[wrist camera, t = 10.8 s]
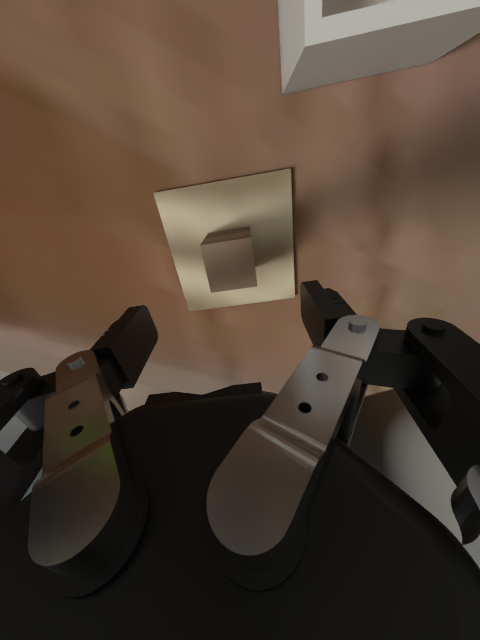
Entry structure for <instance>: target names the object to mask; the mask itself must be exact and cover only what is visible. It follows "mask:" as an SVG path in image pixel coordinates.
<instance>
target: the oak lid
mask: <svg viewBox="0 0 480 640" xmlns="http://www.w3.org/2000/svg"><path fill="white" fill-rule="evenodd" d="M154 197H155V200H156V203H157V206H158V210H159V213H160V216H161V220H162V223H163V226H164V230H165V233H166V236H167V239H168V243H169V246H170V249H171V253H172V256H173V259H174V263H175V266H176V269H177V272H178V276H179V279H180V282H181V286H182V289H183V292H184V296H185V299H186V302H187V305H188V309H189V311H196V310H204V309H211V308H219V307H226V306H234V305H241V304H249V303H256V302H264V301H271V300H279V299H286V298H294V297H295V285H294V253H293V221H292V189H291V168H290V169H284V170H279V171H273V172H268V173H262V174H256V175H251V176H245V177H240V178H234V179H228V180H223V181H217V182H212V183H206V184H201V185H195V186H189V187H184V188H178V189H173V190H167V191H161V192H156V193H154Z"/></svg>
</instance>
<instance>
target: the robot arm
mask: <svg viewBox="0 0 480 640" xmlns="http://www.w3.org/2000/svg"><path fill="white" fill-rule="evenodd" d="M300 293H301V316H302V321H303V323H304V326H305V328H306V330H307V332H308V335H309V337H310V339H311V341H312V344H313V346H312V347H311V348H310V349H309V351H308V352H307V353H306V355H305V356H304V358H303V359H302V361H301V362H300V363H299V365H298V366H297V368H296V369H295V371H294V372H293V373H292V375H291V376H290V378H289V379H288V381H287V382H286V384H285V385H284V386H283V388H282V389H281V391H280V392H279V394H275V393H271V392H266V391H262V386H261V382H258V383H249V384H240V385H232V386H229V387H226V388H223V389H220V390H216V391H213V392H210V393H207V394H203V395H199V394H190V393H181V392H170V393H161V394H152V395H149V396H148V398H147V401H146V403H145V405H142V406H140V407H137V408H135V409H133V410H131V411H129V412H128V410H127V408H126V405H125V402H124V400H123V397H122V396H121V394H120V390H121V389H127V388H133V387H134V386H135V384H136V382H137V380H138V378H139V376H140V374H141V372H142V370H143V368H144V366H145V364H146V362H147V360H148V358H149V356H150V354H151V352H152V350H153V348H154V346H155V344H156V342H157V340H158V333H157V329H156V327H155V325H154V322H153V320H152V317H151V315H150V313H149V310H148V308H147V307H146V306H145V305H142V306H135V307H129V308H128V309H127V310H126V311H125V313H124V314H123V315H122V316H121V317H120V318H119V319H118V320H117V321H116V322H114V323H113V324H112V325H111V326H110V327H109V328H108V329H107V331H106V332H105V333H104V334H103V336H101V337H100V339H99V340H98V341H97V342H96V343H95V344H94V345H93V347H92V348H91V349H90V350H85V351H80V352H77V353H75V354H73V355H71V356H69V357H67V358H66V359H64V360H63V361H62V362H61V363H60V364H59V365H58V366H57V367H56V372H53V373H50V374H47V375H43V376H40V375H39V374H38V373H37V371H36V370H35V369H34V368H25V369H21V370H18V371H16V372H14V373H12V374H10V375H8V376H6V377H4V378H3V379H1V380H0V431H1V429H2V428H3V427H4V426H5V425H6V424H7V423H8V421H10V419H11V418H12V417H13V416H14V415H15V416H16V417H17V418H18V419H20V421H21V422H23V423H24V424H25V425H26V426H27V428H26V430H25V431H24V432H23V433H22V435H21V436H20V437H19V438H18V440H17V441H16V442H15V443H14V445H13V446H12V447H11V448H10V450H9V451H8V452H7V453H6V454H5V453H4V452H3V451H1V450H0V640H480V344H479V343H477V342H476V341H475V340H473V339H472V338H471V337H469V336H468V335H467V334H465V333H464V332H463V331H461V330H460V329H459V328H457V327H456V326H454V325H453V324H451V323H448V322H446V321H443V320H439V319H434V318H416V319H413V320H411V321H409V322H408V324H407V327H406V330H392V329H381V328H380V326H379V324H378V323H377V322H376V321H375V320H373V319H371V318H369V317H366V316H361V315H357V314H356V313H355V312H354V311H353V310H352V308H351V307H350V306H349V305H348V304H347V303H346V301H345V300H344V299H343V298H342V297H341V296H340V295H339V293H338V292H336V291H334V290H332V289H330V288H326V289H323V287H322V286H321V285H320V283H319V282H318V281H317V280H314V281H307V282H301V285H300ZM369 384H370V385H377V386H384V387H392V388H393V389H394V390H395V392H396V393H397V395H398V396H399V398H400V399H401V401H402V402H403V404H404V405H405V407H406V409H407V410H408V412H409V413H410V415H411V416H412V418H413V419H414V421H415V422H416V424H417V426H418V427H419V429H420V430H421V432H422V433H423V435H424V436H425V438H426V440H427V441H428V443H429V444H430V446H431V447H432V448H433V450H434V452H435V453H436V455H437V457H438V458H439V460H440V461H441V463H442V464H443V465H444V467H445V469H446V470H447V472H448V473H449V475H450V477H451V478H452V480H453V481H454V483H455V484H456V486H457V487H456V489H455V490H454V491H453V493H452V495H451V507H452V511H453V513H454V515H455V518H456V520H457V522H458V525H459V527H460V531H461V535H462V544H461V543H460V542H459V540H458V539H457V538H456V537H455V536H454V535H453V534H452V533H451V532H450V530H448V528H447V527H446V526H445V525H443V524H442V523H441V522H440V521H439V520H438V519H437V518H436V517H435V516H433V515H432V514H431V513H430V512H429V511H428V510H426V509H425V508H424V507H423V506H421V505H420V504H419V503H418V502H416V501H415V500H414V499H413V498H411V497H410V496H409V495H408V494H407V493H405V492H404V491H403V490H402V489H400V488H399V487H398V486H396V485H395V484H394V483H393V482H392V481H390V480H389V479H388V478H387V477H386V476H384V475H383V474H382V473H380V472H379V471H378V470H377V469H376V468H374V467H373V466H372V465H371V464H370V463H368V462H367V461H366V460H364V459H363V458H362V457H361V456H360V455H358V454H357V453H356V452H355V451H353V450H352V449H351V448H350V447H349V443H350V440H351V436H352V432H353V429H354V425H355V422H356V418H357V416H358V413H359V410H360V407H361V405H362V402H363V399H364V396H365V393H366V391H367V388H368V385H369ZM41 468H42V469H43V470H42V476H41V478H40V479H38V480H37V481H36V482H35V484H34V485H33V488H32V492H31V493H30V494H29V495H27V496H26V497H25V498H24V499H23V500H22V501H21V499H22V498H23V496H24V495H25V493H26V492H27V490H28V489H29V487H30V485H31V484H32V482H33V481H34V479H35V478H36V476H37V474H38V473H39V471H40V470H41Z"/></svg>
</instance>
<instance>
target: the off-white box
mask: <svg viewBox="0 0 480 640" xmlns="http://www.w3.org/2000/svg"><path fill="white" fill-rule="evenodd" d="M278 17H279V38H280V60H281V81H282V95H283V94H288V93H293V92H297V91H302V90H307V89H311V88H316V87H321V86H325V85H330V84H335V83H339V82H344V81H349V80H353V79H358V78H363V77H367V76H372V75H376V74H381V73H386V72H390V71H395V70H400V69H404V68H409V67H414V66H418V65H423V64H428V63H432V62H434V61H435V60H437V59H438V58H440V57H442V56H443V55H445V54H446V53H448V52H450V51H451V50H453V49H454V48H456V47H457V46H459V45H461V44H462V43H464V42H465V41H467V40H469V39H470V38H472V37H473V36H475V35H477V34H478V33H480V0H278Z"/></svg>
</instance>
